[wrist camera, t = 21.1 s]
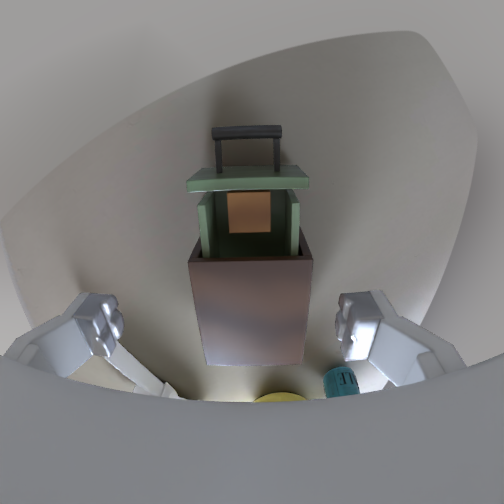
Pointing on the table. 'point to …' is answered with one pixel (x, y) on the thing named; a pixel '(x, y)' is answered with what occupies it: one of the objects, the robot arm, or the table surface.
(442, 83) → the table surface
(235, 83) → the table surface
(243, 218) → the block
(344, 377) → the beverage bottle
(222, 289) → the cabinet
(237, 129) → the drawer
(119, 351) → the chainsaw
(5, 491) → the robot arm
